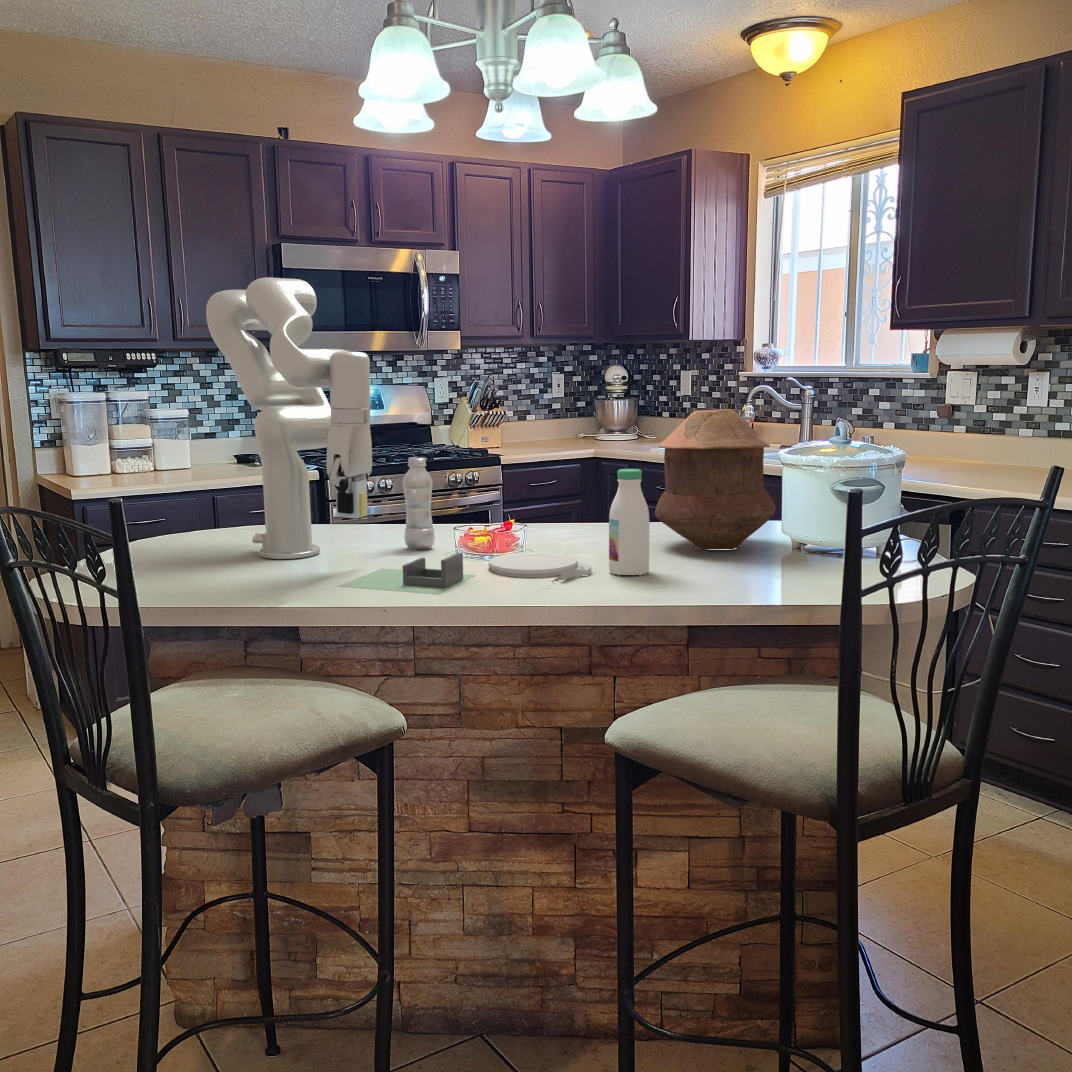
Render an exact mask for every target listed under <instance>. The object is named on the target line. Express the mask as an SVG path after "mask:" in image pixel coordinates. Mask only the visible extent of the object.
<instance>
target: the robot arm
mask: <svg viewBox="0 0 1072 1072" xmlns="http://www.w3.org/2000/svg"><path fill="white" fill-rule="evenodd" d="M317 303H318V302H317V295H316V292H315V291H314V289H313V287H312V286H311V285H310V284H309V283H308V282H307V281H305V280H302V279H299V278H287V277H286V278H282V277H268V276H267V277H261V278H257V279H255V280H253V281H252V282H250V283H249V285H248V286H247V288H246V289H226V290H221V291H217V292H216V293H213V294H212V295H211V296H210V297H209V299H208V300H207V303H206V308H205V309H206V310H205V313H206V323H207V327H208V330H209V331H208V332H209V334H210V336H211V339H212V340H213V342H214V344H215V345H216V346H217V348H218V350H219V351H220V352H221V353H222V355H223V356H224V357H225V359H226V360H227V362H228V364H229V366H230V367H231V369H232V372H233V374H234V376H235V378H236V381H237V382H238V384H239V387H240V389H241V390H242V392H243V394H244V397H245V399H246V401H247V402H248V404H249V405H250V406H251V407H252V408H253V409H255V410H258V411H260V412H259V413H257V416H255V420H254V433H255V438H256V442H257V446H258V451H259V456H260V461H261V463H260V464H261V474H262V476H261V477H262V486H263V487H262V489H263V504H264V509H263V510H264V522H265V523H264V525H265V532H264V533H259V532H257V533H255V534H254V536H253V537H252V541H251V542H252V543H253V544H262V546H261V547H262V548H260V549H259V556H260V557H262V558H264V559H269V560H271V559H272V560H292V559H293V560H294V559H301V558H302V559H303V558H309V557H313V556H316V555H318V554H319V553H320V552H321V549H320V548H321V547H320V546H318V544H313V534H312V515H311V513H312V512H311V497H310V492H311V491H310V475H309V470H308V467H307V465H306V463H305V462H304V460H303V459H302V457H301V456H300V454H299V453H298V451H306V450H316V449H324V448H326V475H328V476H329V481H330V482H331V483H332V485H333V486H334V487H335V493H336V492H337V507H338V512H339V513H346V514H352V513H353V493H351V486H352V477H355V476H359V475H364V480H367V481H368V480H369V476H370V475H371V473H372V471H373V469H372V468H373V446H372V445H373V443H372V435H371V432H372V431H371V427H370V426H371V377H370V376H371V375H370V374H371V364H370V361H371V360H370V357H369V355H368V354H367V353H366V352H363V351H349V350H345V349H342V348H341V349H340V348H299V347H298V346H300V345H302V344H303V343H305V342H306V341H307V340H308V338H309V337H310V335H311V333H312V330H313V319H312V317H313V315H314V314H315V312H316V310H317ZM247 331H268V332H269V334H270V335H271V336H270V340H269V341H270V342H269V351H268V349H267V348H266V346H265V345H264V344H263V343H262V342H261V341H260V340H259V339H257V338H256V337H255V336H253V335H252V334H251V333H249V332H247ZM324 388H325V389H329V400H328V398H327V396H326V394H325V392H324V391H323V389H324ZM342 475H345V477H344V476H342ZM342 480H346V484H345V482H344V481H342Z"/></svg>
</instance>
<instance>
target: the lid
mask: <svg viewBox="0 0 1072 1072" xmlns="http://www.w3.org/2000/svg"><path fill="white" fill-rule="evenodd" d="M488 567H489V568H490V571H492V572H493V573H495V574H498V575H500V576H506V577H514V578H515V577H516V578H545V577H546V578H548V577H555V579H553V580H552V581H551V582H553V581H558V580H564V579H568V578H571V577H576V578H579V577H578V576H583V575H589V574H590V573H591V574H592V566H591V565H590V564H588V563H585V562H580V561H578V559H577V557H574V556H572V555H570V554H565V553H559V552H549V551H525V552H523V551H521V552H512V553H506V554H500V555H497V556H494V557H492V558H490V559H489V561H488ZM591 574H590V575H591ZM590 575H589V576H590ZM556 577H557V578H556ZM571 579H572V578H571ZM568 580H569V579H568ZM564 581H565V580H564ZM553 583H554V582H553Z"/></svg>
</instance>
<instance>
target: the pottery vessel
mask: <svg viewBox="0 0 1072 1072" xmlns="http://www.w3.org/2000/svg"><path fill="white" fill-rule="evenodd" d="M770 447H771V445H770V444H769V442H767V441H766V440H765V439H763V438H762V437H761V436H760V435H759V434H758V433H757V431H755V430H754V429H753V427H752V426H750V425H749V423H748V422H747V421H746V420H745V419H744V418H743V417H742V416H741V415H740V414H738V413H737V412H736V411H735V410H733V409H732V408H723V409H722V408H721V409H720V408H719V409H718V408H717V409H707V410H706V409H705V410H703V409H702V410H696V411H693V412H692V413H690V414H689V415H688V416H687V417H686V418H685V419H684V420H683V421H682V422H681V423H680V424H679V425H678V426H677V427H676V428H675V429H674V430H673V431H672V432H671V433H670V434H669V435H668V436H667V437H666V438H665V439H663V440H662V441H661V442H660V443H659V444H658V448H663V449H664V452H663V453H664V463H663V464H664V480H665V481H664V482H665V483H664V485H665V486H664V488H665V490H664V491H663V493H662V494H661V496H660V497H659V499H658V502H657V504H656V508H655V511H654V515H655V518H656V519H657V520H659V521H660V522H661V523H662V524H663V525H665V526H666V527H668V528H669V529H671V530H672V531H673V532H675V533H676V534H677V535H679V536H680V537H682V538H684V539H685V540H687V541H688V542H690V543H692V544H693V545H694V546H693V545H692V546H693V547H694V548H695V547H697V548H696V549H698V548H701V549H700V550H702V549H734V548H738V549H740V546H741V545H742V544H743V542H744V541H746V540H747V539H748V538H749V537H750V536H751V535H753V534H754V533H755V532H756V531H758V530H759V529H760V528H761V527H763V526H764V525H765V524H766V523H767V522H768V521H770V520H771V518H773V517H774V515H775V514H776V505H775V503H774V501H773V499H772V497H771V495H770V494H769V493H768V491H767V490H766V489H765V488H764V475H765V474H764V457H765V456H764V451H765V450H764V448H770Z"/></svg>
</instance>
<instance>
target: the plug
mask: <svg viewBox="0 0 1072 1072" xmlns="http://www.w3.org/2000/svg"><path fill="white" fill-rule="evenodd" d="M342 476H344V477H345V475H344V474H342ZM342 481H344V482H345V484H346V480H342ZM351 493H353V513H352V514H346V513H339V512H338V507H337V492H336V491H335V496H336V497H335V500H336V509H335V510H336V517H337V518H349V519H359V518H363V517H365V516H368V480H364V475H359V476H355V477H352V486H351Z"/></svg>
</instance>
